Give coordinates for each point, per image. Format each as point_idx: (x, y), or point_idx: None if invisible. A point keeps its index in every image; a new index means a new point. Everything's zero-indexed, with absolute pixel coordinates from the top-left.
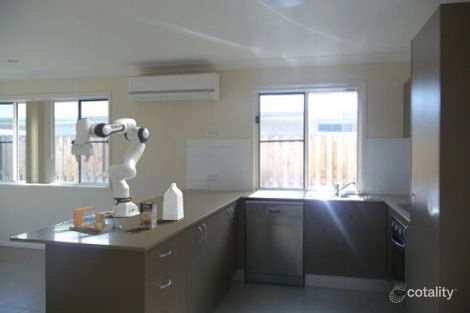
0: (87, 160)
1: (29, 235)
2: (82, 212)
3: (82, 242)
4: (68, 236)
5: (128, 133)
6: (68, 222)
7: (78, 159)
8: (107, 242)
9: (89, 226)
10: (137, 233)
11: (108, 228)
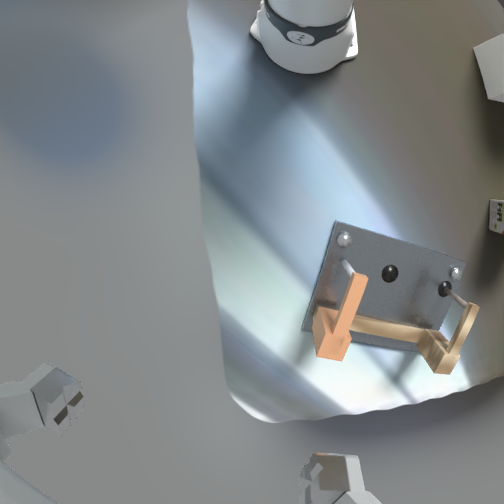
0: (352, 486)
1: (254, 404)
2: (348, 332)
3: (419, 401)
4: (360, 384)
5: None
6: (206, 235)
7: (59, 424)
8: (464, 379)
9: (384, 329)
10: (500, 291)
11: (431, 296)
